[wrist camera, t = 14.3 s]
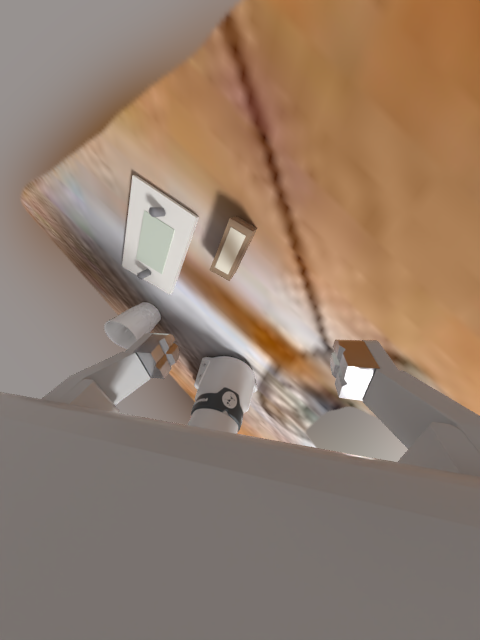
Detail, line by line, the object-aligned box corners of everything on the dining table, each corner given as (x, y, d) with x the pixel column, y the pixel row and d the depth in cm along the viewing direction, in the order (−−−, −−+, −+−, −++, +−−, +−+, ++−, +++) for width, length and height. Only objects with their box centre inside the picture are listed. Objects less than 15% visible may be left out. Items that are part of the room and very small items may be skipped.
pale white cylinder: (163, 328, 48) (138, 353, 40) (137, 319, 49) (107, 342, 40) (163, 305, 44) (135, 328, 36) (134, 295, 44) (100, 315, 36)
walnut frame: (235, 272, 35) (229, 281, 31) (218, 262, 35) (209, 270, 31) (257, 228, 30) (252, 231, 26) (237, 216, 30) (229, 218, 26)
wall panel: (172, 292, 41) (163, 299, 38) (125, 265, 40) (112, 270, 36) (199, 217, 31) (189, 218, 28) (137, 176, 29) (120, 172, 26)
